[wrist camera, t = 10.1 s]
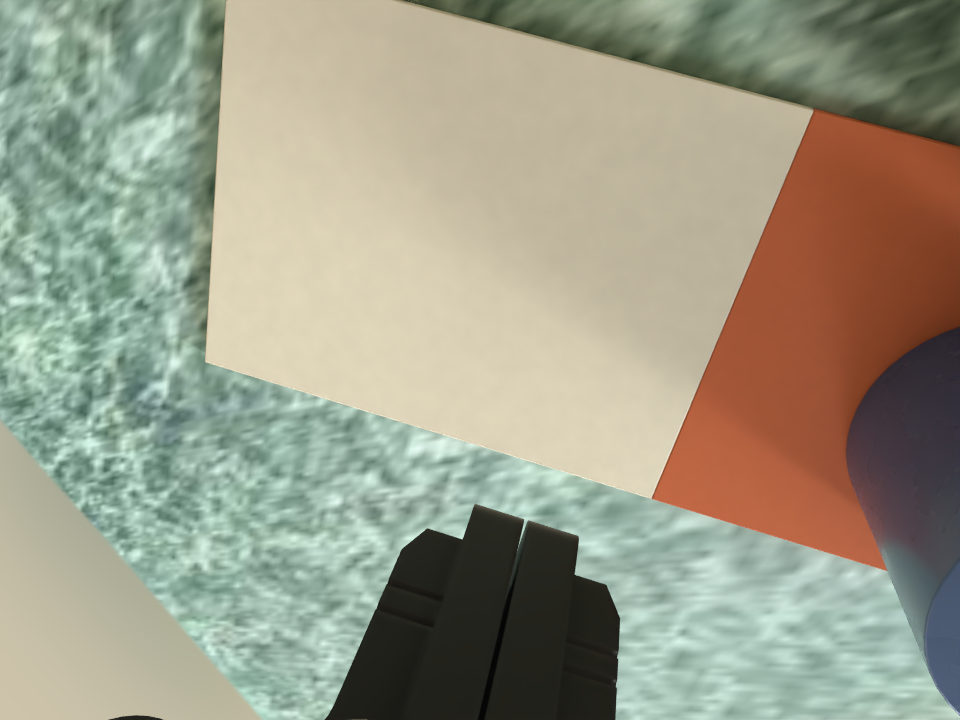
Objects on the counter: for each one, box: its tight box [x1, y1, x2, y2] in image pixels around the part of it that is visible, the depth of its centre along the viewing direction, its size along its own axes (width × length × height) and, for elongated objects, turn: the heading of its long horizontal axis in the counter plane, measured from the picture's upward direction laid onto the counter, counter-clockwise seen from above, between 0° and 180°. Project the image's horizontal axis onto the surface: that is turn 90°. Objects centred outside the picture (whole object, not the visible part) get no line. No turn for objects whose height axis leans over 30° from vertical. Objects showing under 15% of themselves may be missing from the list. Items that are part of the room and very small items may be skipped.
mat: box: [205, 0, 960, 571], centre depth 21 cm, size 12×26×1 cm, turn 77°
